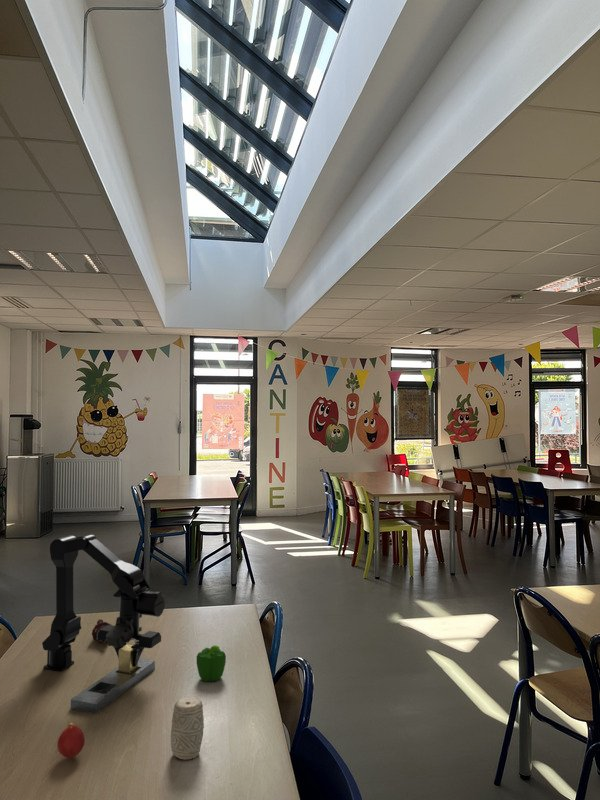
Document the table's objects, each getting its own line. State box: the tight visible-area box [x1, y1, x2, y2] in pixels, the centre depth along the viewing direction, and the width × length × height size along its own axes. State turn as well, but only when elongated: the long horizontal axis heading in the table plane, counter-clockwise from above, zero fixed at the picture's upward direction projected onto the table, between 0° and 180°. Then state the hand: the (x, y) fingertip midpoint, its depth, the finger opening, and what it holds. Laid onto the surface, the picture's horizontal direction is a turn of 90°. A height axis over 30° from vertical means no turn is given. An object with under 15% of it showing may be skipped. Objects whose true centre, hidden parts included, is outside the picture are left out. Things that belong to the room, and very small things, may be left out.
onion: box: [56, 722, 86, 760], centre depth 129 cm, size 6×6×8 cm
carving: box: [170, 696, 205, 761], centre depth 131 cm, size 6×8×12 cm
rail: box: [70, 657, 156, 715], centre depth 163 cm, size 8×28×2 cm, turn 162°
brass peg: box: [117, 643, 138, 675], centre depth 169 cm, size 4×4×8 cm
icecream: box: [91, 619, 112, 644], centre depth 195 cm, size 7×7×15 cm
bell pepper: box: [196, 645, 227, 682], centre depth 169 cm, size 8×8×10 cm
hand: (128, 665), depth 169 cm, fingers closed on brass peg, 4 cm apart
